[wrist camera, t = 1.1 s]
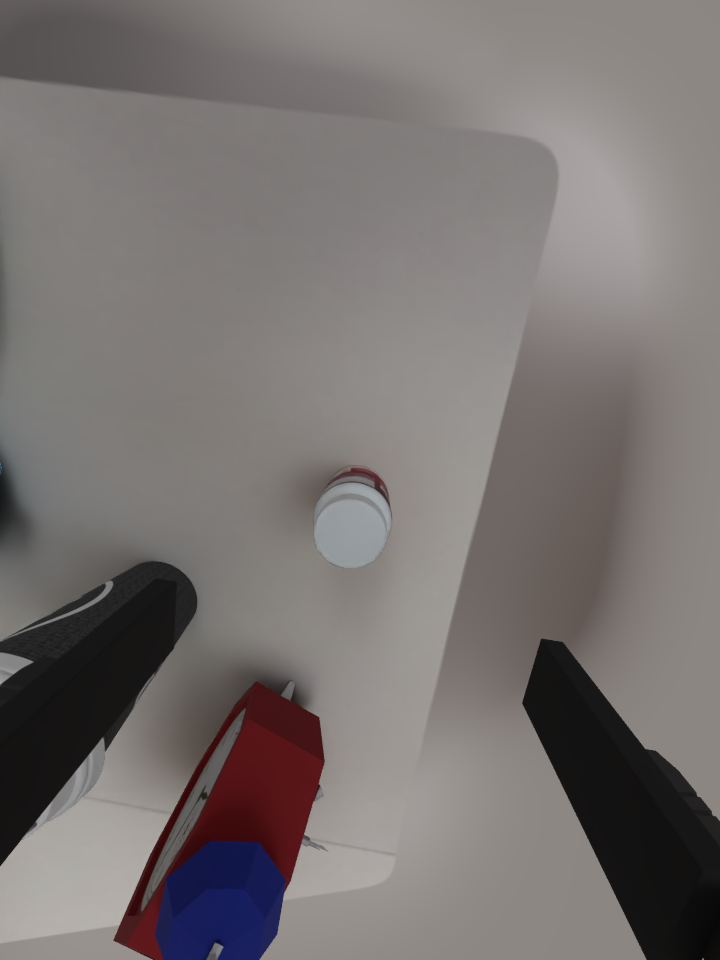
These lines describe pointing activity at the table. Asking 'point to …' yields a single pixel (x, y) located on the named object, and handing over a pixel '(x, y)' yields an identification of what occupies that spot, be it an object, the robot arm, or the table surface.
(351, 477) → the pill bottle
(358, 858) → the table surface
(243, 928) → the alarm clock
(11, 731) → the robot arm
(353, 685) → the table surface
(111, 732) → the coffee cup
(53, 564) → the table surface
